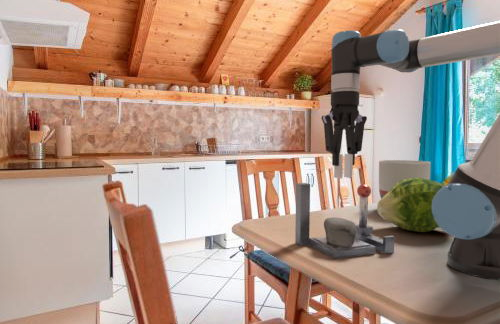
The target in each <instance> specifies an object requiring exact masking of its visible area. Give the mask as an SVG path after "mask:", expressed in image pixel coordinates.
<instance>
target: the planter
mask: <svg viewBox="0 0 500 324" xmlns="http://www.w3.org/2000/svg"><path fill="white" fill-rule="evenodd" d="M431 167H432V166H431V161H425V160H411V159H410V160H407V159H386V160H385V159H382V160H379V161H378V192H379V195H380V200H381V199H382V197H383V196H385V195H386V194H387V193H388V192H389V191H390V189H391V188H392V187H393V186H394V185H395V184H397V183H398V182H400V181H402V180H405V179H410V178H425V179H429V180H431Z"/></svg>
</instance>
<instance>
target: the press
mask: <svg viewBox="0 0 500 324" xmlns="http://www.w3.org/2000/svg"><path fill="white" fill-rule="evenodd" d="M310 217H311V184H310V183H307V182H296V183H295V235H294V236H295V237H294V238H295V241H294V243H295V244H296V245H298V246H299V247H303V246H304V247H305V246H310V247H312V248H314V249H316V250H317V251H319V252H321V253H323V254H324V255H326V256H328V257H329V258H332V259H334V260H336V259H337V260H338V259H346V258H353V257H359V256H360V255H362V256H368V254H369V255H375V254H376V251H378V252H380V253H382V252H383V253H382V254H384V253H385V255H387V254H386V253H388V254H393V253H395V236H394V235H385V236H382V238H381V237H377V236H375V235H373V234H366V235H361V234H358V233H356V236H355V240H354V243H353V245H352V246H351V247H350V248H339V247H337V246H332V245H330V244H329V243H328V242H327V240H326V236H318V237H310V225H311V223H310V221H311V219H310ZM375 249H376V250H375Z"/></svg>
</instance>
